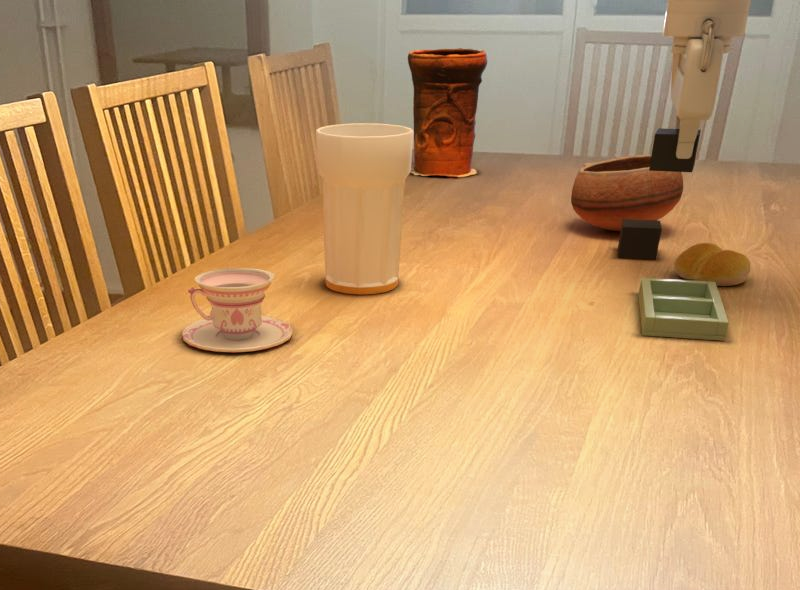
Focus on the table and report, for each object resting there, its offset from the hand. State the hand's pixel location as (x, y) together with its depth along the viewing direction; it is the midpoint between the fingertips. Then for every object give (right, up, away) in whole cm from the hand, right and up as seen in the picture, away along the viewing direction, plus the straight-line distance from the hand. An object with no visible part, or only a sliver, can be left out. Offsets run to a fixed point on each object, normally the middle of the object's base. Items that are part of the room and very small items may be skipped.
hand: (681, 153), depth 116 cm
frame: (-3, -22, -7) cm, 23 cm away
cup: (-39, -14, +5) cm, 42 cm away
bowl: (+1, +3, +28) cm, 29 cm away
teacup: (-53, -26, -12) cm, 60 cm away
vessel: (-21, +31, +68) cm, 77 cm away
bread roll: (+6, -13, +6) cm, 16 cm away
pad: (-1, -1, +1) cm, 2 cm away
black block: (0, -6, +16) cm, 17 cm away
